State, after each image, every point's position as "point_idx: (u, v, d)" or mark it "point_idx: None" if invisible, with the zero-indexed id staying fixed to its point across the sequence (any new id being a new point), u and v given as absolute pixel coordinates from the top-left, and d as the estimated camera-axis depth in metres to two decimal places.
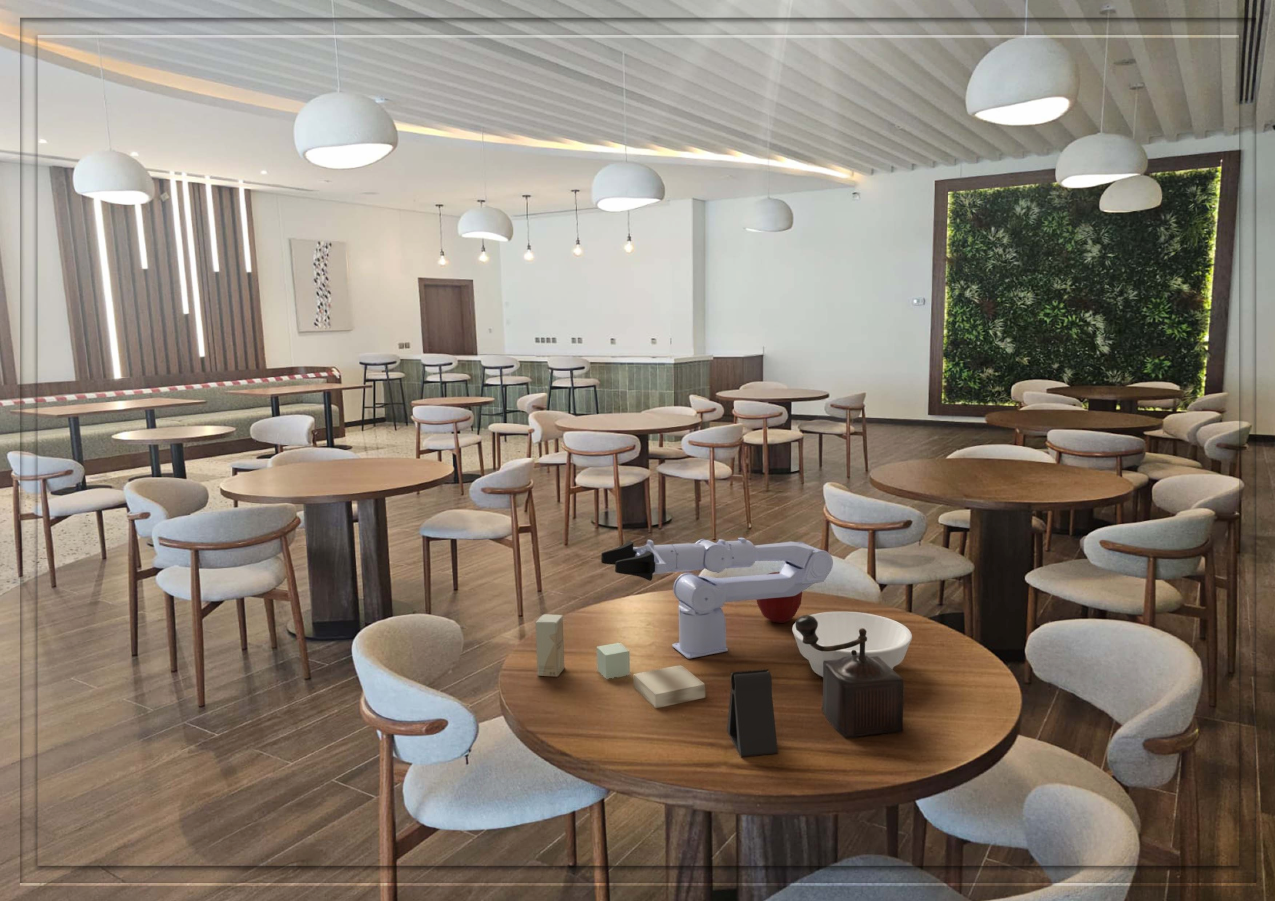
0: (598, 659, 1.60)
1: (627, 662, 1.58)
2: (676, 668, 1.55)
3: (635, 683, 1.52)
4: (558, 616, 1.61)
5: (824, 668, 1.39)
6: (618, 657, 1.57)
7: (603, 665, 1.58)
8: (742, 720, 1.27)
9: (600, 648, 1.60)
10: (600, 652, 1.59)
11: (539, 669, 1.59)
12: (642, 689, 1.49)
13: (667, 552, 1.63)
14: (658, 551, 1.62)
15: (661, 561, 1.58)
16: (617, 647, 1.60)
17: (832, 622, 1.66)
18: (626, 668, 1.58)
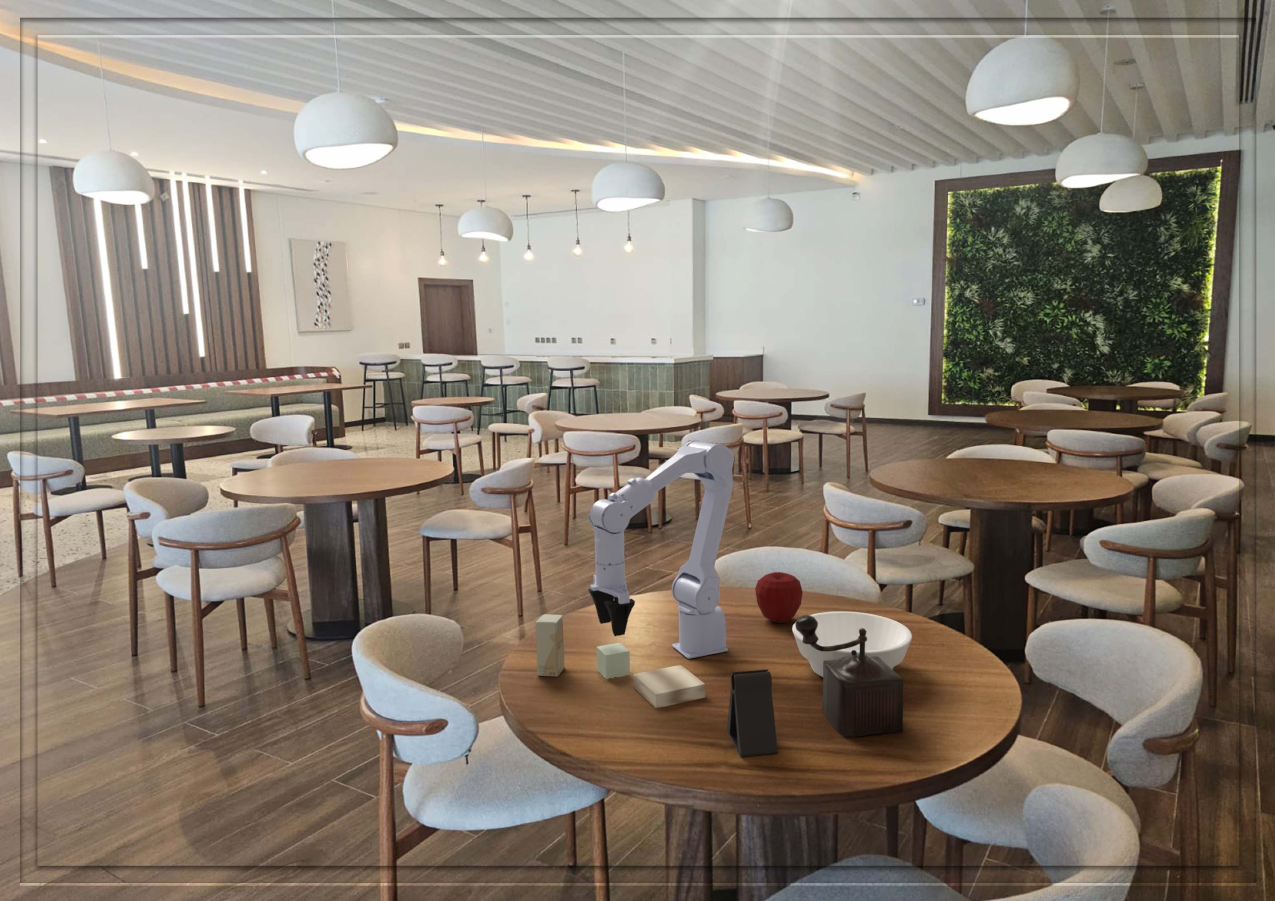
0: (598, 659, 1.60)
1: (627, 662, 1.58)
2: (676, 668, 1.55)
3: (635, 683, 1.52)
4: (558, 616, 1.61)
5: (824, 668, 1.39)
6: (618, 657, 1.57)
7: (603, 665, 1.58)
8: (742, 720, 1.27)
9: (600, 648, 1.60)
10: (600, 652, 1.59)
11: (539, 669, 1.59)
12: (642, 689, 1.49)
13: (605, 574, 1.55)
14: (604, 583, 1.55)
15: (616, 595, 1.52)
16: (617, 647, 1.60)
17: (832, 622, 1.66)
18: (626, 668, 1.58)
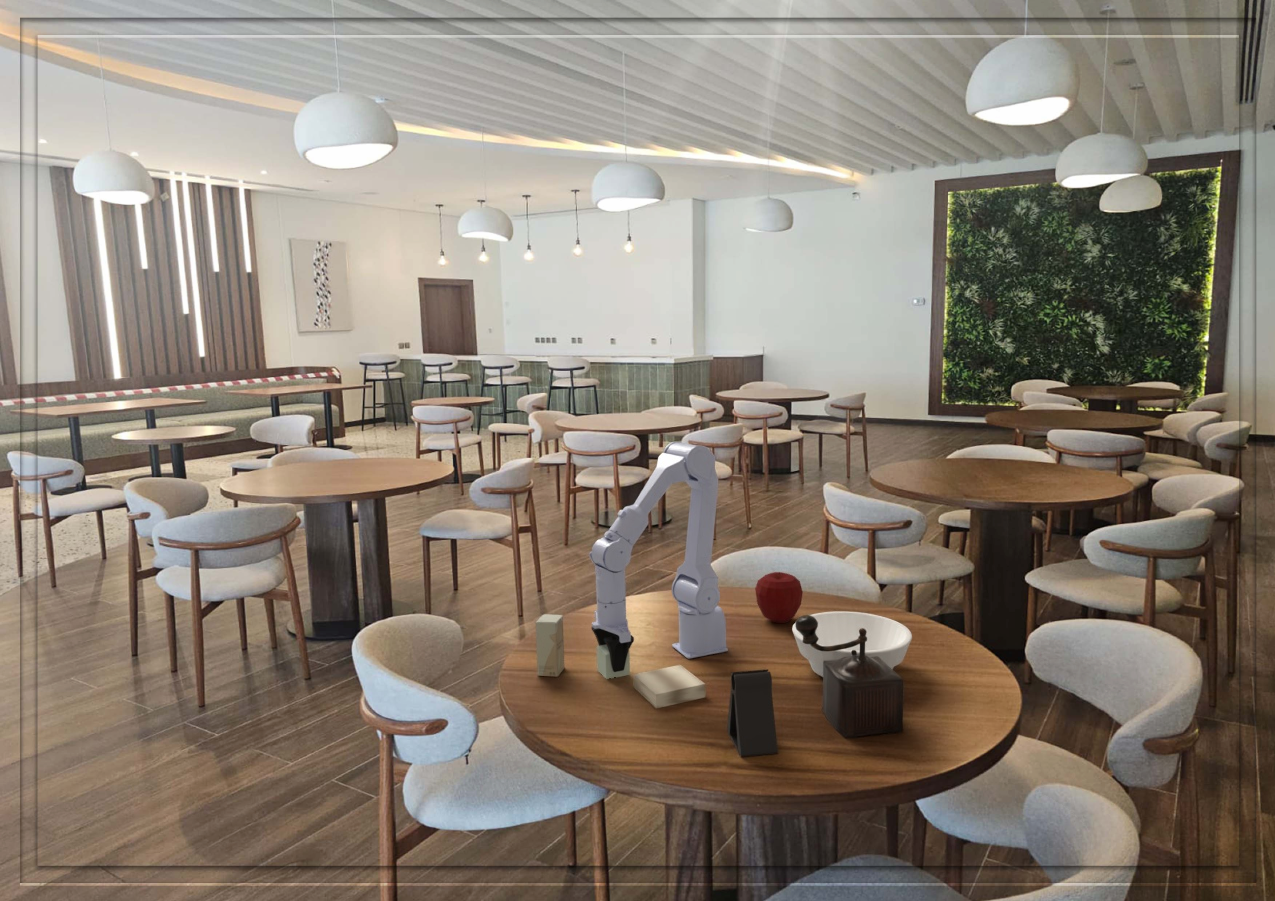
0: (598, 659, 1.60)
1: (627, 661, 1.58)
2: (676, 668, 1.55)
3: (635, 683, 1.52)
4: (558, 616, 1.61)
5: (824, 668, 1.39)
6: None
7: (602, 665, 1.58)
8: (742, 720, 1.27)
9: (600, 647, 1.60)
10: (600, 652, 1.59)
11: (539, 669, 1.59)
12: (642, 689, 1.49)
13: (606, 612, 1.56)
14: (605, 622, 1.56)
15: (618, 633, 1.53)
16: None
17: (832, 622, 1.66)
18: (626, 667, 1.58)
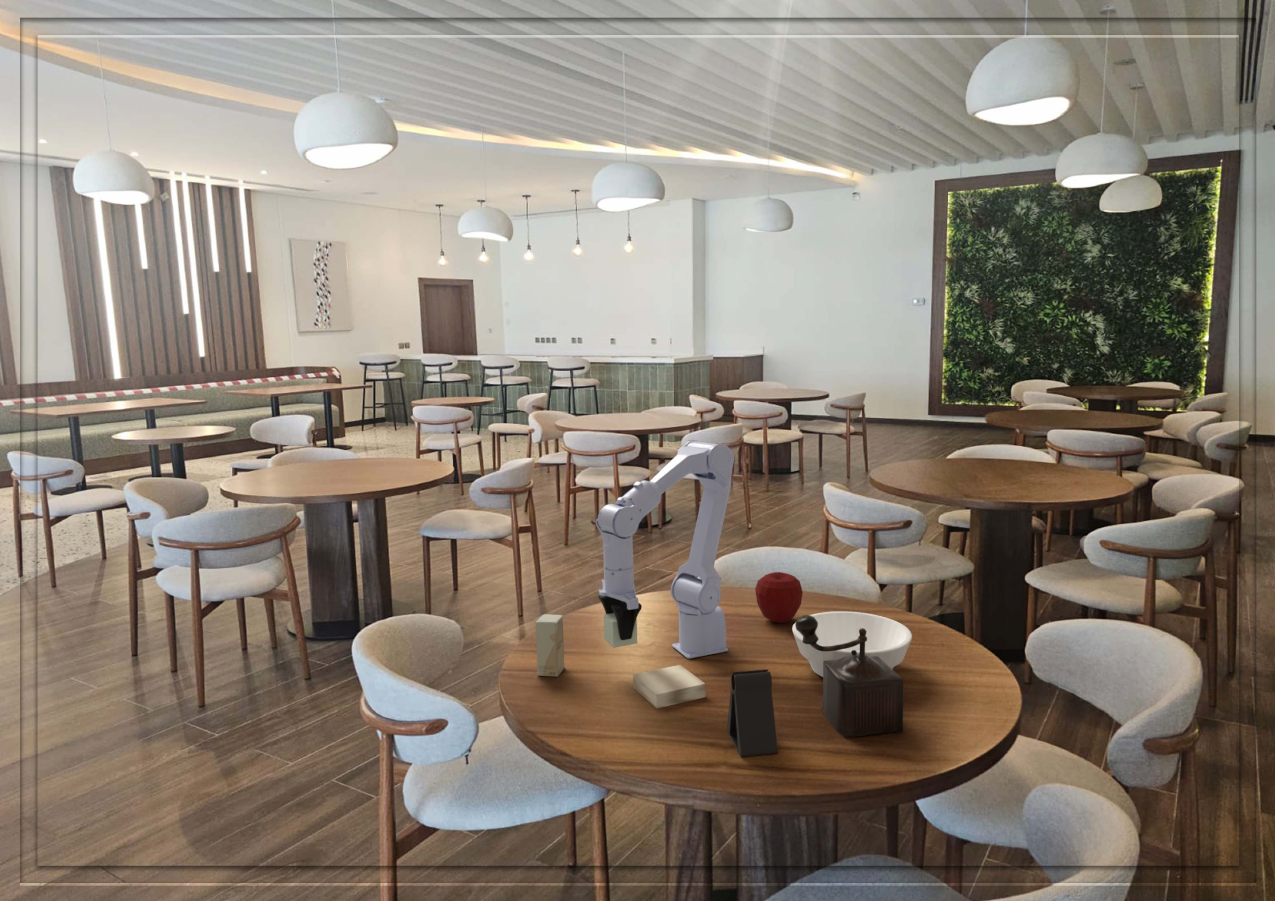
0: (605, 627, 1.58)
1: (634, 630, 1.56)
2: (675, 668, 1.55)
3: (635, 683, 1.52)
4: (558, 616, 1.61)
5: (824, 668, 1.39)
6: None
7: (609, 633, 1.56)
8: (742, 720, 1.27)
9: (607, 616, 1.57)
10: (607, 620, 1.56)
11: (539, 669, 1.59)
12: (642, 689, 1.49)
13: (614, 579, 1.53)
14: (612, 589, 1.54)
15: (625, 600, 1.50)
16: None
17: (832, 622, 1.66)
18: (633, 636, 1.56)
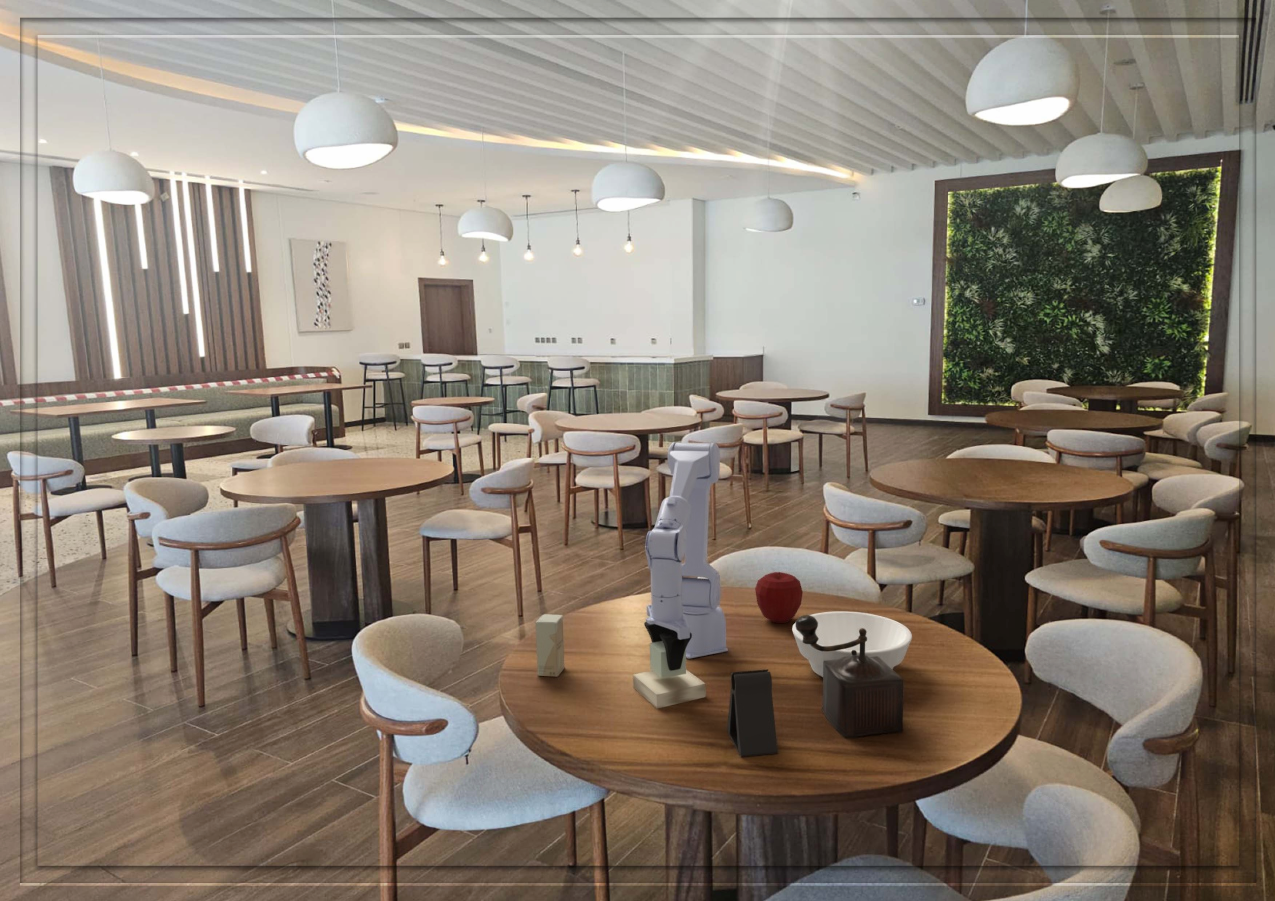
0: (651, 656, 1.50)
1: (683, 660, 1.48)
2: None
3: (635, 684, 1.52)
4: (558, 616, 1.61)
5: (824, 668, 1.39)
6: None
7: (657, 663, 1.48)
8: (742, 720, 1.27)
9: (654, 644, 1.50)
10: (654, 649, 1.49)
11: (539, 669, 1.59)
12: (642, 689, 1.49)
13: (662, 607, 1.46)
14: (661, 617, 1.46)
15: (676, 629, 1.43)
16: None
17: (832, 622, 1.66)
18: (682, 666, 1.48)
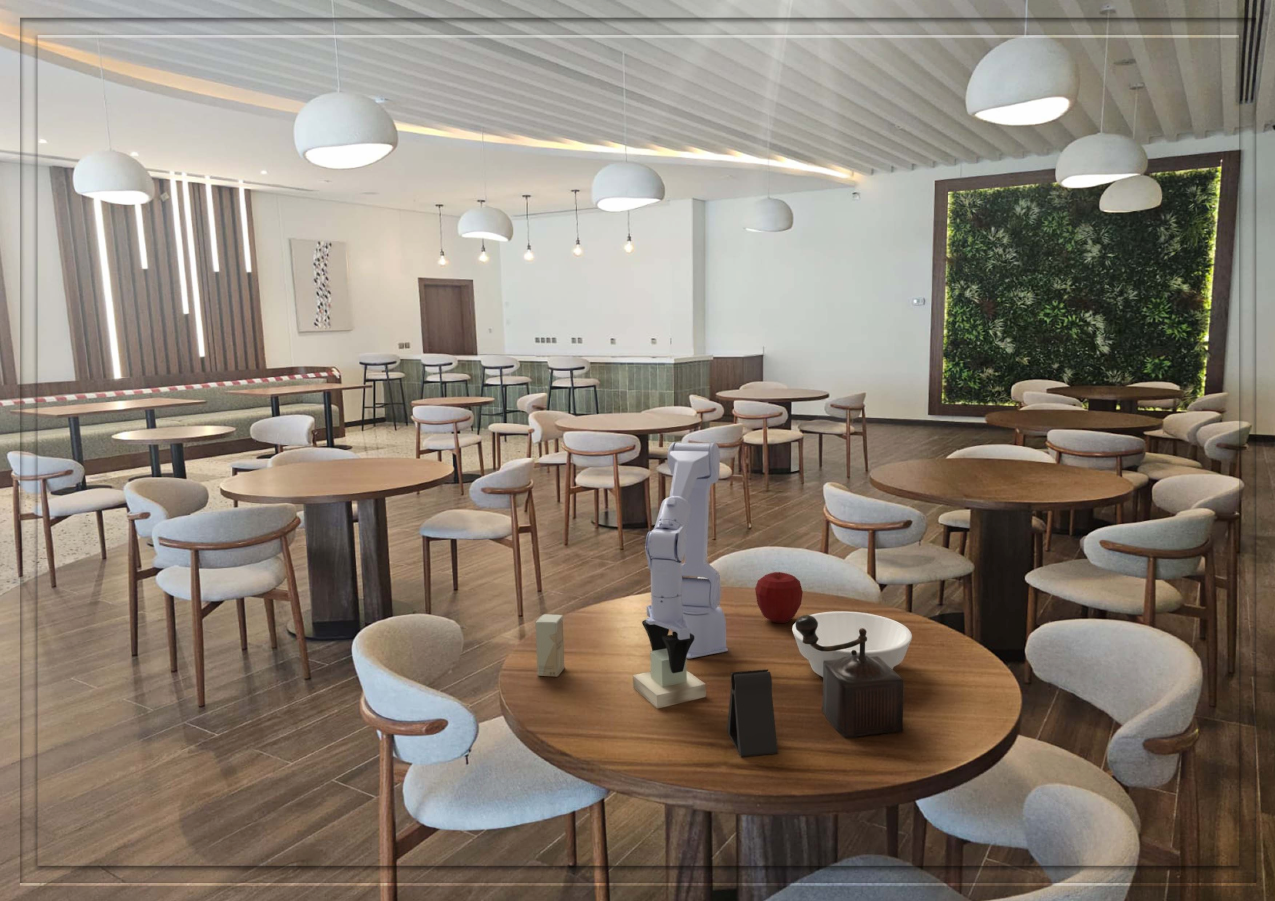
0: (652, 665, 1.50)
1: (684, 668, 1.48)
2: None
3: (635, 684, 1.52)
4: (558, 616, 1.61)
5: (824, 668, 1.39)
6: None
7: (658, 672, 1.48)
8: (742, 720, 1.27)
9: (654, 653, 1.50)
10: (655, 657, 1.49)
11: (539, 669, 1.59)
12: (642, 690, 1.49)
13: (662, 607, 1.46)
14: (661, 617, 1.46)
15: (676, 630, 1.43)
16: None
17: (832, 622, 1.66)
18: (683, 674, 1.48)
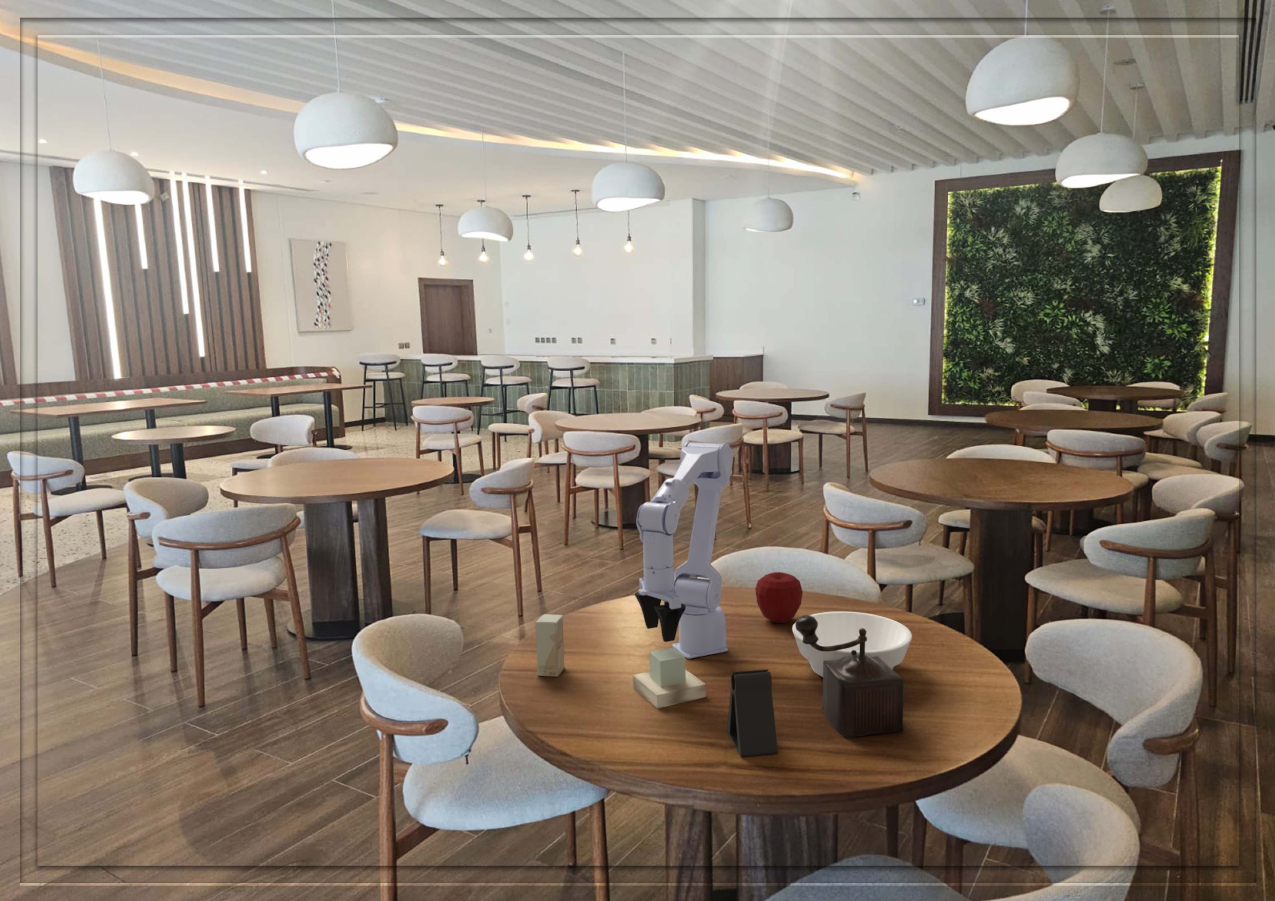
0: (651, 665, 1.50)
1: (683, 668, 1.48)
2: None
3: (635, 684, 1.52)
4: (558, 616, 1.61)
5: (824, 668, 1.39)
6: (673, 663, 1.47)
7: (657, 672, 1.48)
8: (742, 720, 1.27)
9: (653, 653, 1.50)
10: (654, 658, 1.49)
11: (539, 669, 1.59)
12: (643, 690, 1.49)
13: (654, 578, 1.50)
14: (653, 588, 1.51)
15: (667, 599, 1.47)
16: (672, 652, 1.50)
17: (832, 622, 1.66)
18: (682, 675, 1.48)
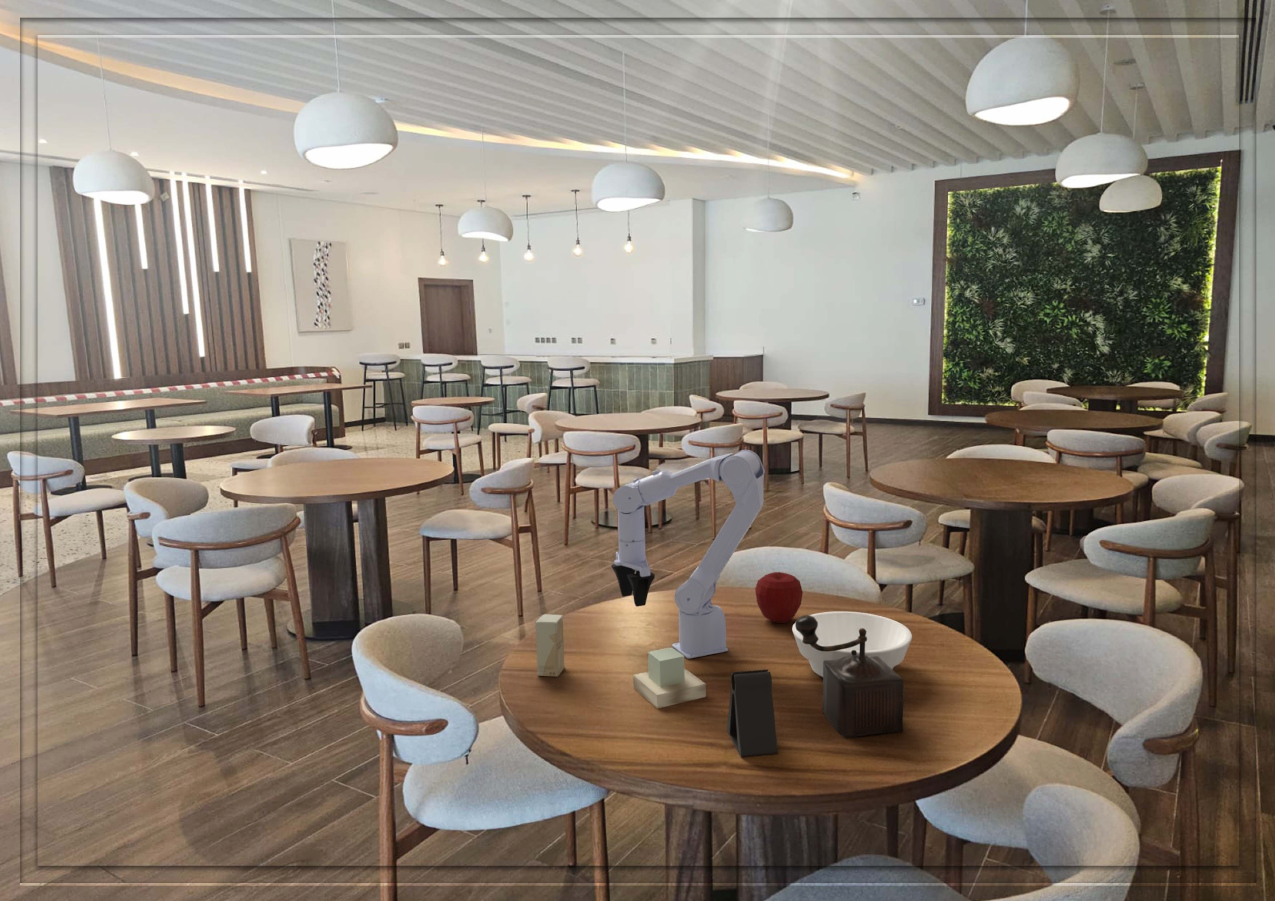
0: (650, 665, 1.50)
1: (682, 668, 1.48)
2: None
3: (635, 684, 1.52)
4: (558, 616, 1.61)
5: (824, 668, 1.39)
6: (672, 662, 1.47)
7: (656, 672, 1.48)
8: (742, 720, 1.27)
9: (652, 653, 1.50)
10: (653, 658, 1.49)
11: (539, 669, 1.59)
12: (643, 690, 1.49)
13: (627, 550, 1.70)
14: (626, 559, 1.71)
15: (638, 568, 1.67)
16: (670, 652, 1.50)
17: (832, 622, 1.66)
18: (681, 674, 1.48)
